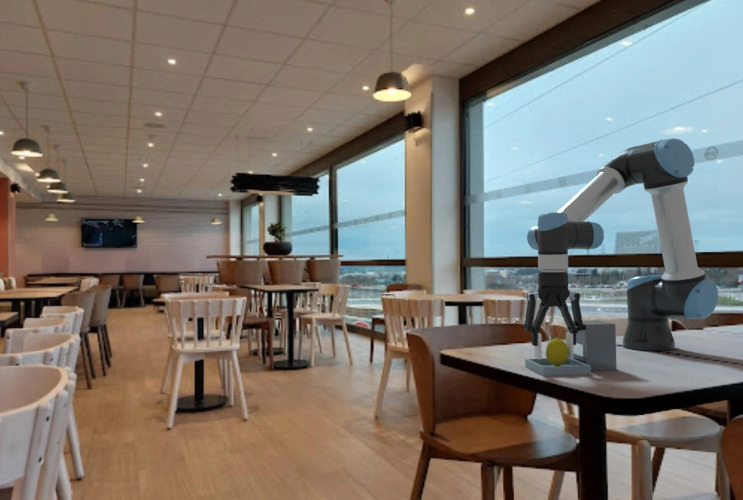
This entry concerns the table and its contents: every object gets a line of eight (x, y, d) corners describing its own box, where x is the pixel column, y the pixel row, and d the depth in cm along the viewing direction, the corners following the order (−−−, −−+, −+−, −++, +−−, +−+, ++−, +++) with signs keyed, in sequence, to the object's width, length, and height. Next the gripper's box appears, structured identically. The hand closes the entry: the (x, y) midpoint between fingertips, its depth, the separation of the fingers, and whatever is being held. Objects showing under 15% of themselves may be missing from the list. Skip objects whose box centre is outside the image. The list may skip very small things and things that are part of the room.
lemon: (564, 366, 147) (565, 336, 147) (570, 370, 141) (570, 339, 141) (543, 365, 147) (544, 335, 147) (548, 369, 142) (548, 338, 142)
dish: (569, 365, 151) (568, 357, 151) (591, 374, 139) (590, 365, 139) (525, 366, 150) (525, 358, 150) (543, 375, 137) (543, 367, 138)
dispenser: (600, 363, 152) (599, 320, 152) (618, 370, 143) (616, 323, 143) (570, 364, 151) (569, 321, 152) (586, 371, 142) (584, 324, 143)
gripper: (584, 270, 149) (585, 355, 149) (510, 271, 148) (510, 356, 147) (597, 271, 142) (598, 359, 141) (519, 271, 140) (520, 361, 140)
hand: (554, 358), depth 144 cm, fingers open, 8 cm apart
